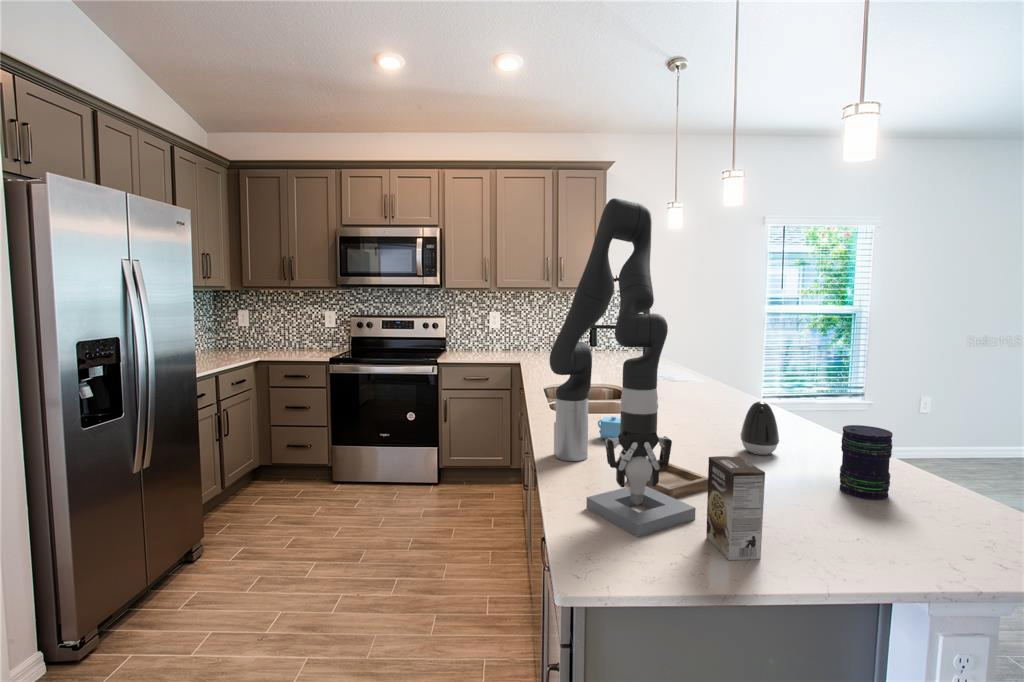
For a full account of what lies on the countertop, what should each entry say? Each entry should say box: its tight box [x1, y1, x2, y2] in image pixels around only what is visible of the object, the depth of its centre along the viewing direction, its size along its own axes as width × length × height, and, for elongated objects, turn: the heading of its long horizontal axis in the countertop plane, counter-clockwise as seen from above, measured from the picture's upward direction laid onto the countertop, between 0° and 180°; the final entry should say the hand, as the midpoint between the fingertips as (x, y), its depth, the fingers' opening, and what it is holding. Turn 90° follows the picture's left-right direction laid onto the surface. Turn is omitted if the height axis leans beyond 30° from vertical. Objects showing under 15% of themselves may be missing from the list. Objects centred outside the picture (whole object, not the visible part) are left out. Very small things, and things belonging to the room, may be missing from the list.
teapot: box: [597, 415, 621, 440], centre depth 169 cm, size 12×6×8 cm, turn 69°
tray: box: [626, 463, 708, 499], centre depth 129 cm, size 14×14×2 cm
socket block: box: [586, 486, 696, 538], centre depth 112 cm, size 16×16×2 cm
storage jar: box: [839, 424, 893, 501], centre depth 123 cm, size 10×10×15 cm
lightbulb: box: [624, 456, 653, 506], centre depth 112 cm, size 6×6×11 cm
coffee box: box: [706, 455, 766, 561], centre depth 96 cm, size 9×6×16 cm
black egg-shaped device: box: [740, 401, 780, 456], centre depth 154 cm, size 10×10×15 cm
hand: (637, 485), depth 112 cm, fingers closed on lightbulb, 6 cm apart
